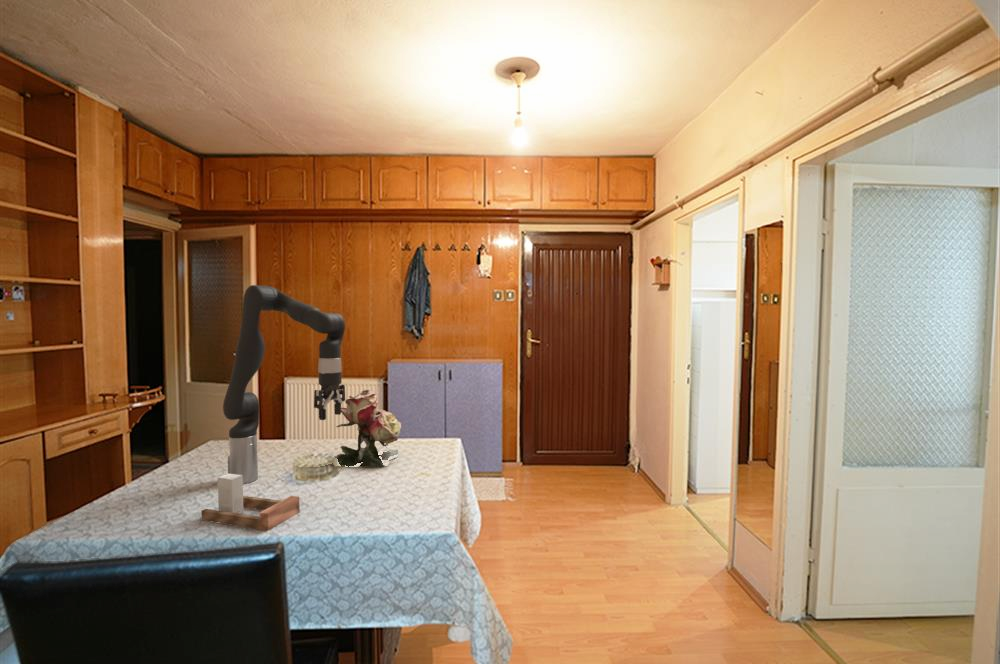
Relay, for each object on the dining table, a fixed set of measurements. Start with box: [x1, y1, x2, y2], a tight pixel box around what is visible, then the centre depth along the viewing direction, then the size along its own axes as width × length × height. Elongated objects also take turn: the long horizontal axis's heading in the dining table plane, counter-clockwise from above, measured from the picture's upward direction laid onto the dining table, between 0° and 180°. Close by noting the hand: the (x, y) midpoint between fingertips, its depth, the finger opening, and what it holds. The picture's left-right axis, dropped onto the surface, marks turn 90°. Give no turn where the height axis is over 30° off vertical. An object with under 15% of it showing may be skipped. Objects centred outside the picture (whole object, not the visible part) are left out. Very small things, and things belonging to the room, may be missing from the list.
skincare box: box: [217, 473, 244, 514], centre depth 146 cm, size 6×4×12 cm
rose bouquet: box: [335, 389, 402, 468], centre depth 202 cm, size 26×29×30 cm
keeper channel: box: [200, 495, 300, 531], centre depth 144 cm, size 25×13×5 cm, turn 74°
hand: (330, 417), depth 161 cm, fingers open, 8 cm apart
